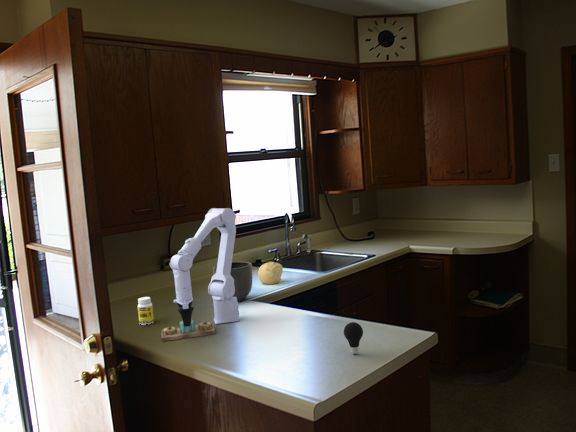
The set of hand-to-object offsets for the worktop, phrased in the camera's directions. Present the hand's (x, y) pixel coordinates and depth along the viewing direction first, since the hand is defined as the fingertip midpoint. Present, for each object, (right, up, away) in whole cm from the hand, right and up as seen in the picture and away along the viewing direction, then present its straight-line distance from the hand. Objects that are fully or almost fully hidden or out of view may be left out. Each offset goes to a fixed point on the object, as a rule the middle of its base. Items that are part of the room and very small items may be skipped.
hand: (187, 323), depth 202 cm
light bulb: (+58, -3, -34) cm, 67 cm away
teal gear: (0, -3, 0) cm, 3 cm away
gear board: (0, -4, 0) cm, 4 cm away
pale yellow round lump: (+29, +6, +72) cm, 77 cm away
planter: (+14, +2, +43) cm, 45 cm away
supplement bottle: (-20, -4, +19) cm, 27 cm away
